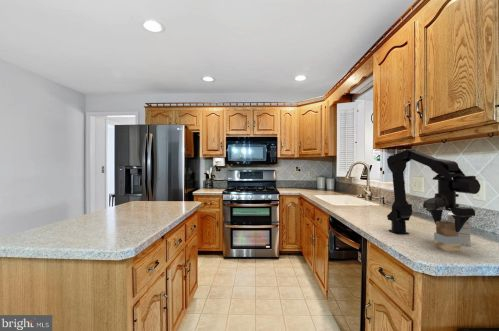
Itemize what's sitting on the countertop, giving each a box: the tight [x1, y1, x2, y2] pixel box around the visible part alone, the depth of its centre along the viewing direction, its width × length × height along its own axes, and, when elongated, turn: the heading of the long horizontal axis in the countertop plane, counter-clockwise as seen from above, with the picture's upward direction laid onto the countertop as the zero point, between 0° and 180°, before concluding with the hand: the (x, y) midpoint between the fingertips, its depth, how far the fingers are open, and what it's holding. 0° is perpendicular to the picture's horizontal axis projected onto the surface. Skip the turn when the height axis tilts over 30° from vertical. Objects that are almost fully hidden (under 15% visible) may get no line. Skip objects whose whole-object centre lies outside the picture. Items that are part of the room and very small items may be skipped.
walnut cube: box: [435, 220, 458, 237], centre depth 99 cm, size 5×5×5 cm
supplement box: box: [447, 211, 472, 247], centre depth 106 cm, size 7×7×13 cm
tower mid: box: [433, 232, 461, 244], centre depth 99 cm, size 6×6×3 cm
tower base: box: [433, 239, 462, 252], centre depth 99 cm, size 6×6×3 cm
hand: (447, 228), depth 99 cm, fingers open, 9 cm apart
